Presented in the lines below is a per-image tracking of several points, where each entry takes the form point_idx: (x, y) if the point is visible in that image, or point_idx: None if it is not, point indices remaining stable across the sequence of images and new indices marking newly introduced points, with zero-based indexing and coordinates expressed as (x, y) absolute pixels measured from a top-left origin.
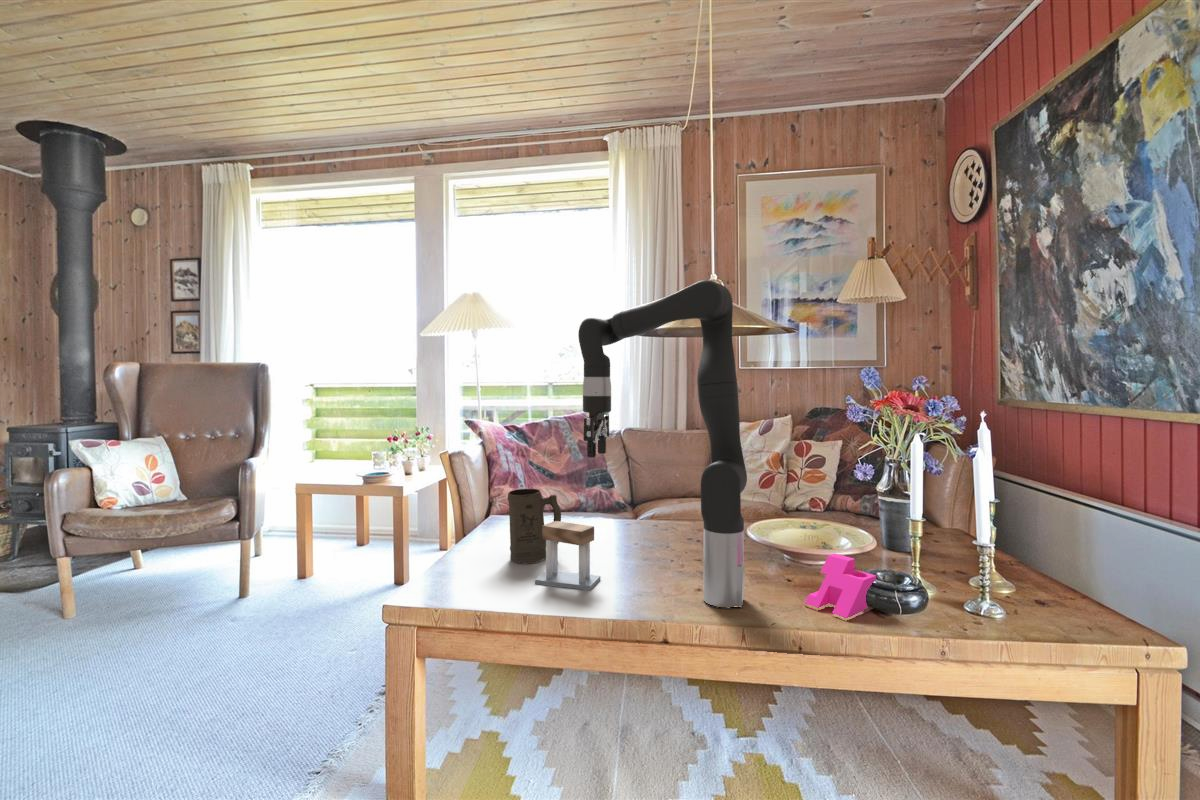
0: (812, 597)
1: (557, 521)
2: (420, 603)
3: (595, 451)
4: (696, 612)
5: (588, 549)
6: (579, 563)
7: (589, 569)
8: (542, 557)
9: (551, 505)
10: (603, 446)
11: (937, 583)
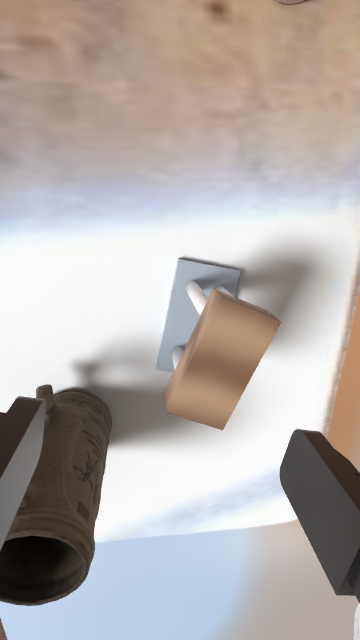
0: None
1: (173, 406)
2: None
3: (335, 458)
4: (348, 32)
5: (206, 296)
6: None
7: (196, 284)
8: (87, 397)
9: None
10: (23, 456)
11: None
